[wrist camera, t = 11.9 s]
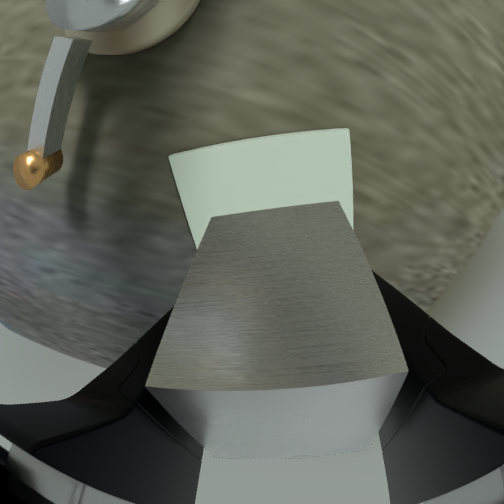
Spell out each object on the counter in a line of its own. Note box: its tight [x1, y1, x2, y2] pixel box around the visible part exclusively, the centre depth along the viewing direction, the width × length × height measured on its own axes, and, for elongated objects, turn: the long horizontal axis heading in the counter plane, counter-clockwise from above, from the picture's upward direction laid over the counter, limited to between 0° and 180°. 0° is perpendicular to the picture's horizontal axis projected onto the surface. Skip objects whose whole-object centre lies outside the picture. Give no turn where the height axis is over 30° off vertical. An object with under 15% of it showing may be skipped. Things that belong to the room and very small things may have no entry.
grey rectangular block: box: [145, 201, 408, 459], centre depth 7 cm, size 4×4×6 cm
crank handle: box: [13, 0, 159, 190], centre depth 10 cm, size 17×7×5 cm, turn 152°
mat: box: [169, 128, 353, 249], centre depth 20 cm, size 12×10×1 cm
